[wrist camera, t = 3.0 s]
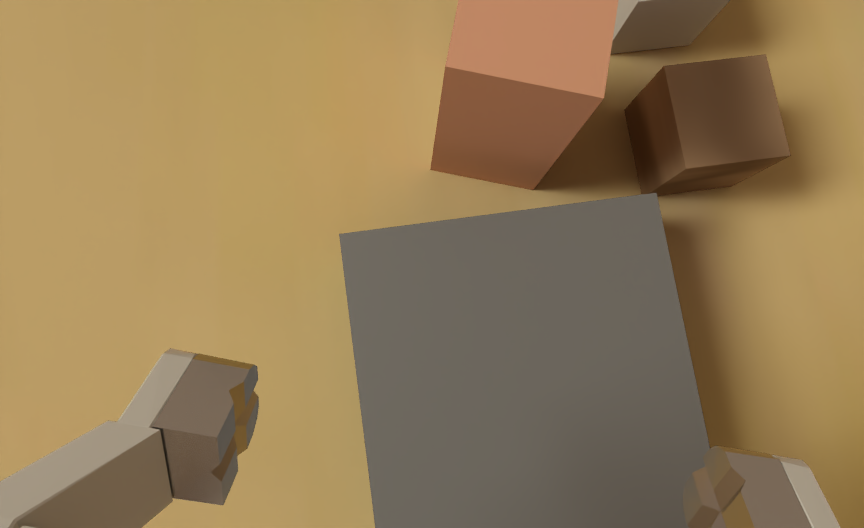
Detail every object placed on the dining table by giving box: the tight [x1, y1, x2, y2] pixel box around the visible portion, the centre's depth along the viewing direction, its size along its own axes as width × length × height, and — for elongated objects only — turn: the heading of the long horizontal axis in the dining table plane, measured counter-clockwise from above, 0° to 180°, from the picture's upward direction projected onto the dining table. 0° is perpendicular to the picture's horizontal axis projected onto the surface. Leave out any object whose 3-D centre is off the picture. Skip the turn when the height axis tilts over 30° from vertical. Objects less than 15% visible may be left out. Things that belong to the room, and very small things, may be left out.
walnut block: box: [624, 55, 791, 196], centre depth 27 cm, size 4×4×4 cm
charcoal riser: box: [339, 193, 710, 528], centre depth 25 cm, size 13×13×4 cm
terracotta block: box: [430, 0, 618, 190], centre depth 23 cm, size 5×5×10 cm
